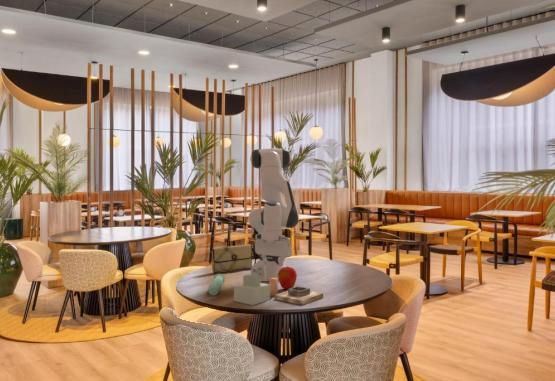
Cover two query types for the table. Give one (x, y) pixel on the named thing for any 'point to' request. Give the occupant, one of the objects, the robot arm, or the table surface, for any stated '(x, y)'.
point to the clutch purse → (232, 258)
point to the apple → (287, 277)
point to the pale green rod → (216, 284)
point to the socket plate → (299, 295)
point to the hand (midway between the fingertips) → (273, 265)
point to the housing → (251, 291)
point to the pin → (273, 286)
